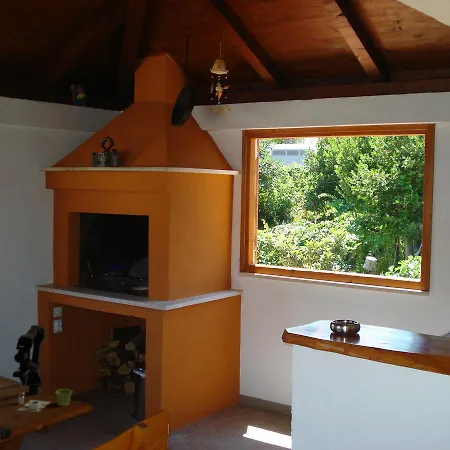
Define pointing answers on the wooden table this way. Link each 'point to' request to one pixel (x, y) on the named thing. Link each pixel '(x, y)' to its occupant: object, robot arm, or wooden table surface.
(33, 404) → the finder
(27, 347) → the robot arm
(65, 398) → the plant pot
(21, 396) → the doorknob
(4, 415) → the wooden table surface
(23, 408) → the board
